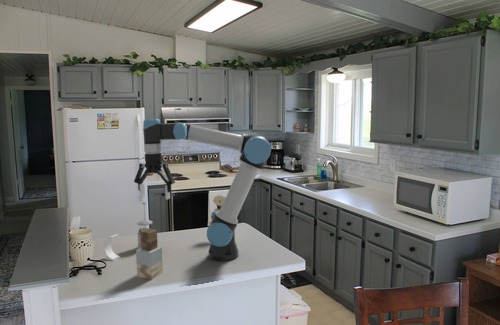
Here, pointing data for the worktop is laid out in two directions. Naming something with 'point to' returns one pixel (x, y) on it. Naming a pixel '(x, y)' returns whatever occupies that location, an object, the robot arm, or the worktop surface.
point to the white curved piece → (110, 249)
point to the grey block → (149, 256)
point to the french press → (143, 223)
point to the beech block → (149, 270)
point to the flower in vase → (218, 201)
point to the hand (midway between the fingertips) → (155, 198)
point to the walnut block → (149, 239)
